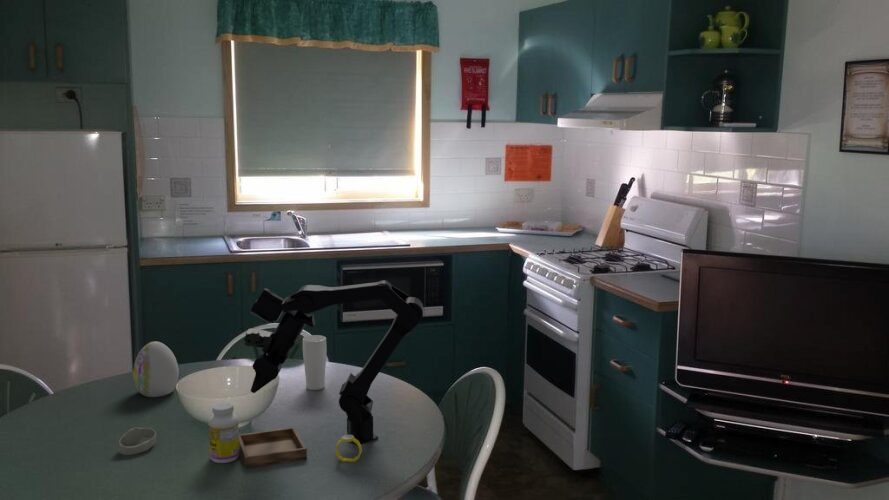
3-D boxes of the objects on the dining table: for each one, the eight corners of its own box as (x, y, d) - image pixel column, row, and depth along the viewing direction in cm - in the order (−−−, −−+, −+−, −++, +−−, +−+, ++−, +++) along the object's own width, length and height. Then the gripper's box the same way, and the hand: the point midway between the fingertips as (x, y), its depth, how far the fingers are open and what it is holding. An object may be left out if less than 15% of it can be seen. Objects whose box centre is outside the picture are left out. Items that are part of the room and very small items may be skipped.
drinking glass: (325, 392, 237) (324, 341, 235) (301, 391, 237) (300, 341, 235) (328, 384, 244) (328, 335, 241) (306, 383, 244) (304, 334, 241)
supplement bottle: (208, 455, 194) (205, 403, 192) (236, 450, 197) (234, 399, 195) (212, 466, 188) (210, 412, 186) (242, 461, 191) (240, 408, 189)
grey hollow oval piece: (148, 440, 203) (147, 420, 202) (162, 446, 199) (161, 427, 198) (113, 451, 196) (112, 432, 195) (128, 459, 192) (126, 438, 191)
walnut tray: (294, 436, 205) (294, 427, 205) (306, 458, 192) (306, 448, 192) (237, 444, 200) (236, 434, 200) (245, 468, 187) (245, 457, 187)
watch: (335, 464, 191) (333, 439, 190) (337, 459, 193) (335, 435, 192) (361, 462, 190) (359, 438, 189) (363, 457, 193) (360, 433, 192)
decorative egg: (135, 387, 240) (132, 337, 237) (179, 383, 243) (177, 334, 241) (133, 401, 228) (129, 349, 226) (179, 397, 232) (176, 346, 229)
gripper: (265, 306, 208) (236, 358, 210) (249, 326, 189) (217, 382, 192) (304, 328, 209) (274, 379, 211) (292, 350, 191) (259, 405, 193)
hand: (256, 385), depth 202 cm, fingers open, 9 cm apart
